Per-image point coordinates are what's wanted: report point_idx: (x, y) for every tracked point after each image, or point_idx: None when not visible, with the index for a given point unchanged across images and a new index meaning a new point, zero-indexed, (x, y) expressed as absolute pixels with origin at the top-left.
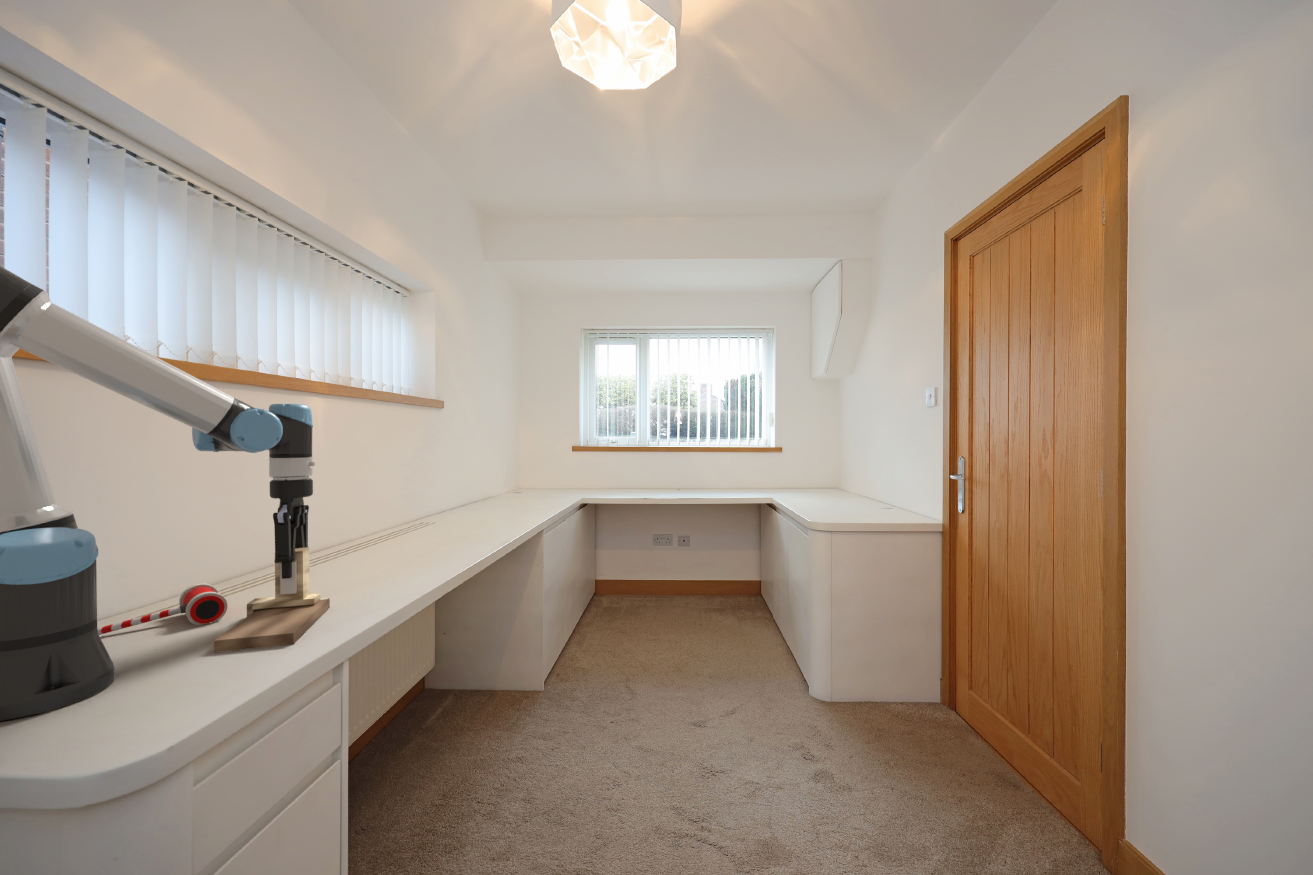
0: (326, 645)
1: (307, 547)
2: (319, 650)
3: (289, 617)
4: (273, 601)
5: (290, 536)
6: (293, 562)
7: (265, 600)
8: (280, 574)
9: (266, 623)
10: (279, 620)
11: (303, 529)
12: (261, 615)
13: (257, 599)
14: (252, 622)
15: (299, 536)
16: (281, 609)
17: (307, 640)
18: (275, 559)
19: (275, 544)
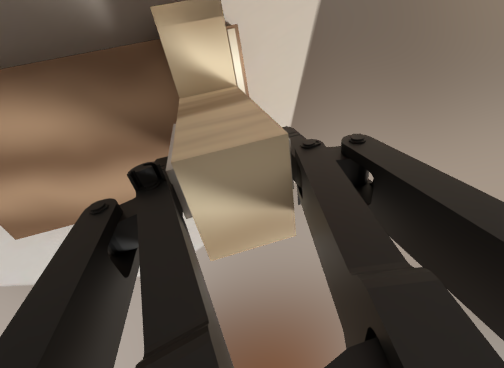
0: (42, 270)
1: (293, 232)
2: (17, 273)
3: (113, 172)
4: (182, 90)
5: (108, 365)
6: (183, 212)
7: (193, 55)
8: (169, 149)
9: (57, 147)
10: (87, 163)
11: (418, 249)
12: (119, 89)
13: (206, 14)
14: (54, 104)
15: (318, 251)
16: (176, 113)
17: (56, 233)
18: (83, 211)
19: (37, 286)
